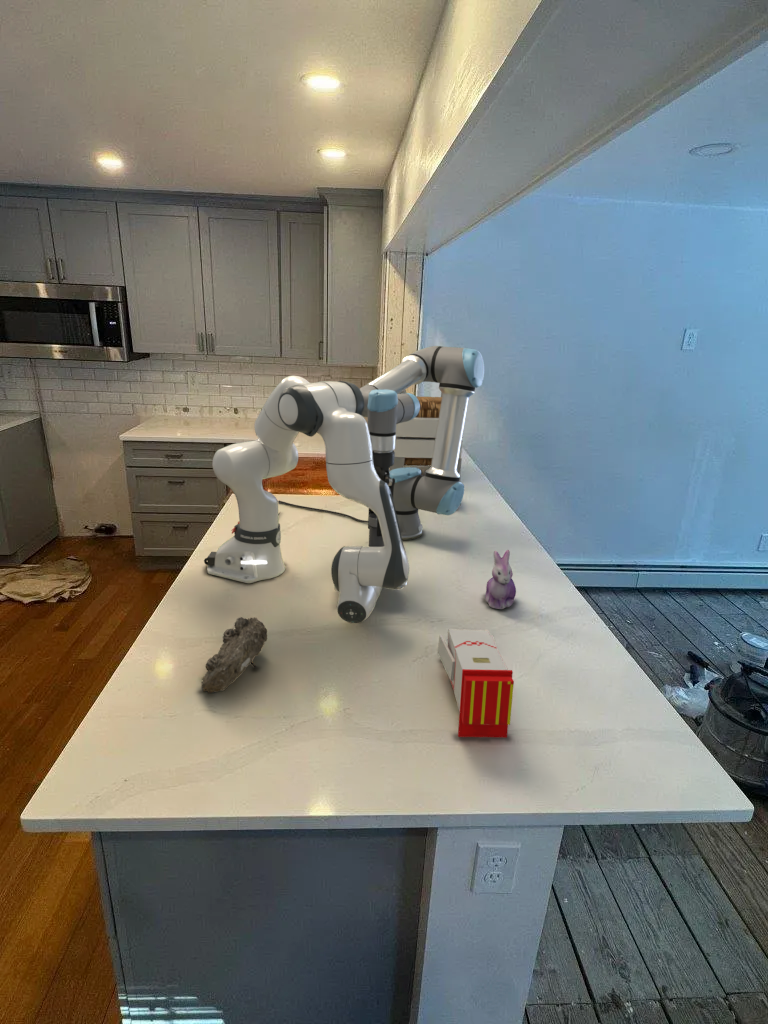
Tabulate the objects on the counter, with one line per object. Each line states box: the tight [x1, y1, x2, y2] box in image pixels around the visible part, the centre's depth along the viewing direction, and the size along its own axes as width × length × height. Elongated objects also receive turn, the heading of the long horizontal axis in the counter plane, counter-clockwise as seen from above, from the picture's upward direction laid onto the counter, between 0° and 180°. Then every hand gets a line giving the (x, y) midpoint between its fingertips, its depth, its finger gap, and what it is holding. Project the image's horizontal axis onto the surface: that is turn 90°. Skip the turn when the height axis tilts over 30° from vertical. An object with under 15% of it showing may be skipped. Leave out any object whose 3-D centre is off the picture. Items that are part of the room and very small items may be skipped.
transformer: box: [389, 389, 465, 482], centre depth 268 cm, size 34×33×41 cm
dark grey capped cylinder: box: [368, 525, 384, 547], centre depth 159 cm, size 4×4×20 cm
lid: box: [367, 513, 378, 527], centre depth 156 cm, size 5×5×2 cm
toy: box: [437, 628, 515, 738], centre depth 117 cm, size 12×13×30 cm
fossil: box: [201, 616, 268, 694], centre depth 122 cm, size 22×10×15 cm
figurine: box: [484, 549, 517, 610], centre depth 153 cm, size 9×10×15 cm
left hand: (376, 562), depth 161 cm, fingers closed on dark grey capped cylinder, 4 cm apart
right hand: (377, 531), depth 157 cm, fingers closed on lid, 5 cm apart
